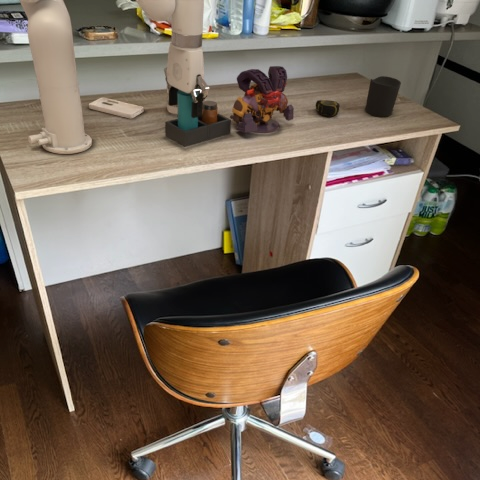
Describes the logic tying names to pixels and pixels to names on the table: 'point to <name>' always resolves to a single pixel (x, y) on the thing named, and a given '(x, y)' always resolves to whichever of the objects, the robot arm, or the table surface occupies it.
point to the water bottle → (186, 111)
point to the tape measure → (327, 107)
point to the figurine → (261, 100)
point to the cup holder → (197, 131)
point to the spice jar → (209, 112)
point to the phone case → (116, 108)
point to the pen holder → (382, 96)
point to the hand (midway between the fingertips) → (185, 110)
